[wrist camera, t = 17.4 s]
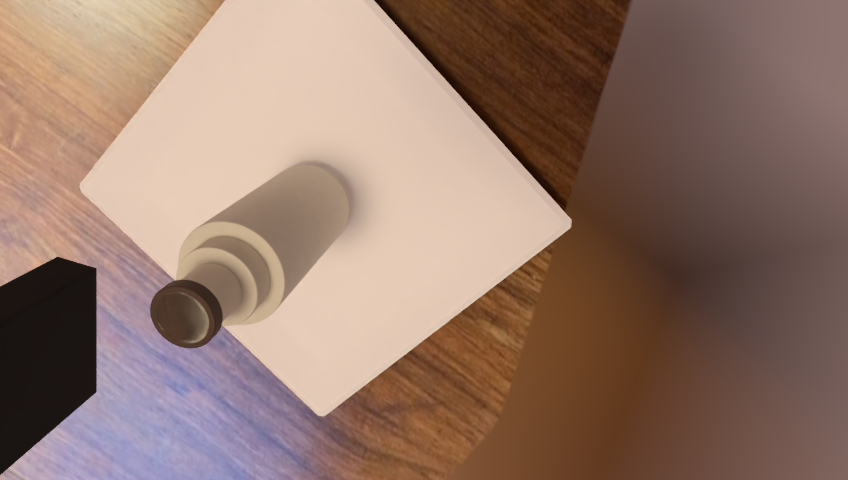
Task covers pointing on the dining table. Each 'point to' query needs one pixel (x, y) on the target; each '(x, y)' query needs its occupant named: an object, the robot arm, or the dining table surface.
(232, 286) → the bottle
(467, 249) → the beige square board
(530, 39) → the dining table surface
